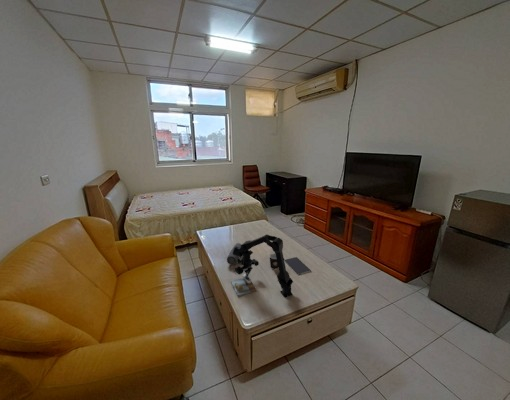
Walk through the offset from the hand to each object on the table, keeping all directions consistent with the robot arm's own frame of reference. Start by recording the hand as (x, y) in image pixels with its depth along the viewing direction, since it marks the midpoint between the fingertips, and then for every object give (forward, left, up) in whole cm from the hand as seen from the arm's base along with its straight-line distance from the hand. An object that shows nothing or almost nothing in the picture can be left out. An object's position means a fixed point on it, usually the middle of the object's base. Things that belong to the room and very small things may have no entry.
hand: (247, 276), depth 162 cm
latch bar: (-4, +2, -1) cm, 4 cm away
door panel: (-7, +6, -3) cm, 10 cm away
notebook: (0, -44, -3) cm, 44 cm away
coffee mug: (+5, -27, -3) cm, 28 cm away
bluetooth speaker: (+30, 0, -3) cm, 30 cm away
